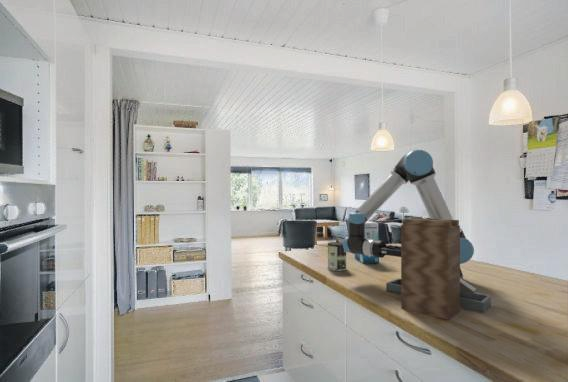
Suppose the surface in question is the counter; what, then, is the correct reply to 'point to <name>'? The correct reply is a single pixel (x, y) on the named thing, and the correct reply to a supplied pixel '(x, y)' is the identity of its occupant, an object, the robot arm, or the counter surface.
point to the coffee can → (336, 256)
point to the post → (430, 266)
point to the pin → (465, 289)
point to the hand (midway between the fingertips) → (428, 255)
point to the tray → (473, 303)
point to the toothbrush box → (370, 233)
